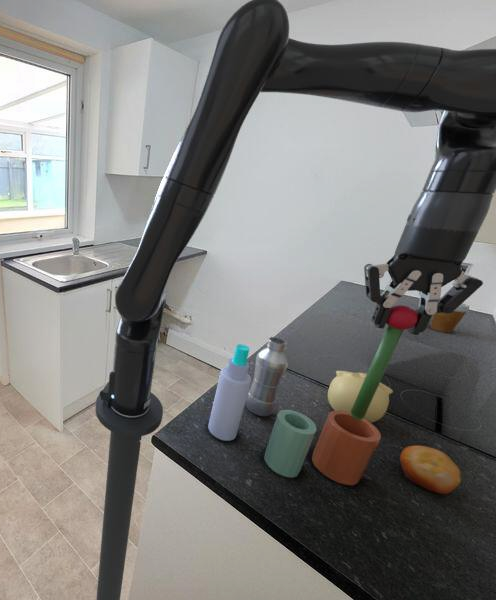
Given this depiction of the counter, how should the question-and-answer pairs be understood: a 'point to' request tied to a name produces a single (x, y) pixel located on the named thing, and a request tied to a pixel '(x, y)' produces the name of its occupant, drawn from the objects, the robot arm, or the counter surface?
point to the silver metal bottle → (267, 377)
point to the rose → (383, 356)
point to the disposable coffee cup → (448, 319)
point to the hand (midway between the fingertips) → (395, 329)
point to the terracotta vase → (345, 447)
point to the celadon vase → (289, 443)
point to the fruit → (430, 469)
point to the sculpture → (347, 391)
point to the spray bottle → (230, 396)
